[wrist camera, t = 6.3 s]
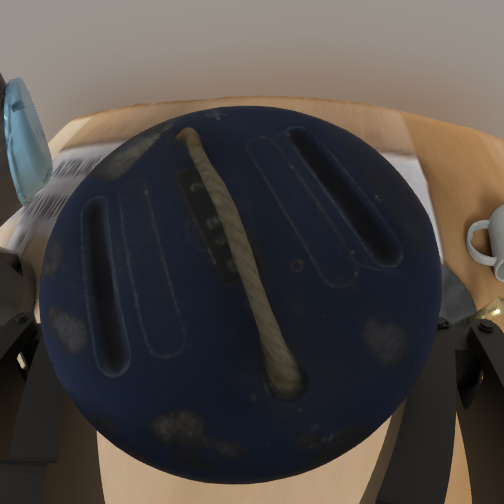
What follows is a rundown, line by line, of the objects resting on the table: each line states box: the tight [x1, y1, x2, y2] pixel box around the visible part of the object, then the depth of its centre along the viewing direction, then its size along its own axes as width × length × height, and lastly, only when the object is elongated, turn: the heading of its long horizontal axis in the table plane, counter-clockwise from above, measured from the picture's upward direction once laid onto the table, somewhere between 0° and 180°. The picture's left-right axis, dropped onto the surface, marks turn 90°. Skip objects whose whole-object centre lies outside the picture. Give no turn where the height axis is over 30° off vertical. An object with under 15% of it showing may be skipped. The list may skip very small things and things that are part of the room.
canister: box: [39, 106, 442, 484], centre depth 12 cm, size 10×10×18 cm
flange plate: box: [439, 264, 504, 331], centre depth 21 cm, size 16×16×6 cm
